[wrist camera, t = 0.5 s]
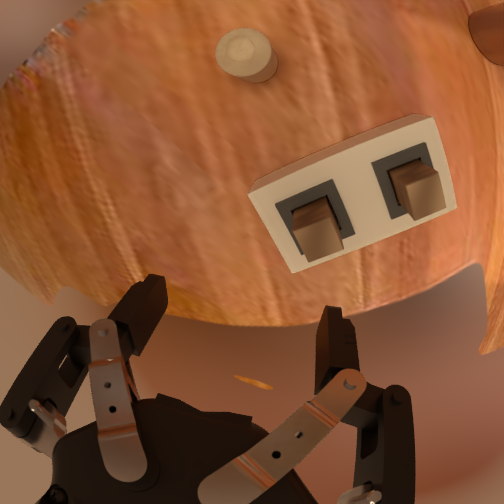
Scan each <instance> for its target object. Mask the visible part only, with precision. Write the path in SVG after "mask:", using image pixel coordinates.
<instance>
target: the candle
mask: <svg viewBox="0 0 504 504" xmlns="http://www.w3.org/2000/svg"><path fill="white" fill-rule="evenodd" d="M215 54H216V60H217V63H218V64H219V66H220V67H221V68H222V69H223V70H224V71H225V72H227V73H229V74H231V75H233V76H236V77H238V78H240V79H243V80H245V81H248V82H252V83H259V82H263V81H266V80H268V79H269V78H271V77H272V76H273V75H274V73H275V72H276V70H277V67H278V60H277V56H276V54H275V52H274V50H273V48H272V46H271V44H270V42H269V40H268V39H267V37H266V36H265V35H264V34H262V33H261V32H259V31H257V30H255V29H251V28H239V29H235V30H232V31H230V32H228V33H227V34H225V35H224V36H223V37H222V38H221V39H220V41H219V42H218V44H217V47H216V53H215Z"/></svg>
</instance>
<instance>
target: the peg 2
mask: <svg viewBox="0 0 504 504" xmlns="http://www.w3.org/2000/svg"><path fill="white" fill-rule="evenodd" d="M386 171H387V174H388V176H389V179H390V182H391V185H392V188H393V191H394V194H395V197H396V199H397V201H398V202H399V203H400V204H401V205H402V206H403V208H404V209H405V210H406V211H407V212H408V214H409V215H410V216H411V217H412V218H413V220H414V221H416V220H419V219H421V218H423V217H426V216H428V215H431V214H433V213H435V212H438V211H440V210H442V209H445V208H446V203H445V198H444V194H443V189H442V185H441V181H440V177H439V173H438V171H436V170H435V169H433V168H431V167H430V166H428V165H426V164H425V163H423V162H421V161H419V160H418V159H414V160H412V161H409V162H406V163H404V164H401V165H399V166H396V167H394V168H391V169H389V170H386Z"/></svg>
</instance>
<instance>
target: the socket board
mask: <svg viewBox="0 0 504 504" xmlns="http://www.w3.org/2000/svg"><path fill="white" fill-rule="evenodd" d="M414 159H418V160H419V161H421V162H423V163H425V164H426V165H428V166H430V167H431V168H433V169H435V170H436V171H438V173H439V177H440V181H441V185H442V189H443V194H444V198H445V203H446V208H445V209H442V210H440V211H438V212H435V213H433V214H431V215H428V216H426V217H423V218H421V219H419V220H416V221H414V220H413V218H412V217H411V216H410V215H409V214H408V212H407V211H406V210H405V209H404V208H403V206H402V205H401V204H400V203H399V202H398V201H397V199H396V197H395V194H394V191H393V188H392V185H391V182H390V179H389V176H388V174H387V171H386V170H389V169H391V168H394V167H396V166H399V165H401V164H404V163H406V162H409V161H412V160H414ZM247 195H248V197H249V198H250V200H251V202H252V204H253V205H254V207H255V209H256V211H257V212H258V214H259V216H260V217H261V219H262V221H263V223H264V224H265V226H266V228H267V230H268V232H269V233H270V235H271V237H272V239H273V240H274V242H275V244H276V246H277V247H278V249H279V251H280V253H281V255H282V256H283V258H284V260H285V262H286V264H287V265H288V267H289V269H290V271H291V273H292V274H293V273H296V272H298V271H301V270H304V269H307V268H309V267H312V266H315V265H317V264H320V263H323V262H325V261H328V260H331V259H333V258H336V257H339V256H341V255H344V254H347V253H349V252H352V251H354V250H357V249H360V248H362V247H365V246H367V245H370V244H372V243H375V242H377V241H380V240H382V239H385V238H387V237H390V236H392V235H395V234H397V233H400V232H402V231H405V230H407V229H410V228H412V227H414V226H417V225H419V224H422V223H424V222H426V221H429V220H431V219H433V218H436V217H438V216H441V215H443V214H445V213H447V212H450V211H452V210H454V209H457V204H456V199H455V194H454V189H453V184H452V179H451V175H450V171H449V167H448V163H447V159H446V155H445V152H444V148H443V145H442V142H441V138H440V135H439V132H438V129H437V126H436V123H435V120H434V117H433V116H427V115H421V114H411V115H408V116H405V117H402V118H400V119H397V120H394V121H392V122H389V123H386V124H384V125H381V126H378V127H376V128H373V129H371V130H368V131H366V132H363V133H360V134H358V135H356V136H353V137H351V138H348V139H346V140H343V141H341V142H339V143H336V144H334V145H331V146H329V147H327V148H324V149H322V150H320V151H318V152H315V153H313V154H311V155H309V156H306V157H304V158H302V159H300V160H297V161H295V162H293V163H291V164H289V165H287V166H284V167H282V168H280V169H278V170H276V171H274V172H272V173H270V174H268V175H265V176H263V177H261V178H259V179H257V180H255V182H254V183H253V185H252V187H251V189H250V190H249V192H248V194H247ZM325 195H327V196H328V198H329V200H330V202H331V205H332V207H333V209H334V212H333V213H334V216H335V218H336V220H337V223H338V226H339V230H340V234H341V238H342V242H343V246H344V250H341V251H339V252H336V253H333V254H331V255H328V256H325V257H323V258H320V259H317V260H315V261H312V262H309V263H308V261H307V259H306V257H305V255H304V253H303V251H302V249H301V247H300V245H299V243H298V241H297V239H296V238H295V236H294V234H293V232H292V226H293V214H294V209H295V208H297V207H300V206H302V205H304V204H307V203H309V202H311V201H314V200H316V199H318V198H321V197H323V196H325Z"/></svg>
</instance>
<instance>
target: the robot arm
mask: <svg viewBox="0 0 504 504" xmlns="http://www.w3.org/2000/svg"><path fill="white" fill-rule="evenodd" d="M469 29H470V33H471V35H472V38H473V40H474V42H475V44H476V46H477V47H478V48H479V50H480V51H481V52H482V54H483V55H484V56H485V57H486V58H487V59H488V60H490V61H491V62H493V63H495V64H497V65H504V3H501V4H497V5H494V6H491V7H488V8H485V9H482V10H479V11H476V12H474V13H472V14H471V15H470V18H469ZM167 305H168V296H167V289H166V281H165V277H164V276H160V275H155V274H149V275H148V276H147V277H146V278H145V280H144V281H143V282H141V281H139V282H137V283H136V284H134V285H133V286H131V288H130V289H129V290H128V291H127V293H126V294H125V295H124V297H123V298H122V300H120V302H119V303H118V304H117V306H116V307H115V308H114V310H113V311H112V312H111V314H110V315H109V316H108V318H107V319H106V318H104V319H99V320H97V321H95V322H94V323H93V324H92V325H91V326H86V325H77V323H76V321H75V320H74V319H73V318H72V317H69V316H66V317H61V318H60V319H58V320H57V321H55V323H54V324H53V325H52V327H51V328H50V329H49V331H48V332H47V334H46V335H45V336H44V338H43V339H42V340H41V342H40V343H39V345H38V346H37V348H36V349H35V351H34V352H33V354H32V355H31V357H30V358H29V359H28V361H27V362H26V364H25V365H24V367H23V369H22V370H21V372H20V373H19V375H18V376H17V378H16V380H15V381H14V383H13V385H12V386H11V388H10V390H9V391H8V393H7V395H6V397H5V398H4V400H3V402H2V404H1V406H0V423H1V425H2V426H3V427H5V428H6V429H7V430H8V431H10V432H11V433H12V434H13V435H14V436H15V437H17V438H18V439H19V440H20V441H22V442H23V443H25V444H26V445H28V446H30V447H31V448H33V449H35V450H36V451H37V452H41V453H44V454H45V455H47V456H48V457H50V458H51V459H52V465H53V474H52V483H51V486H50V488H49V489H48V491H47V492H46V493H45V495H43V496H42V497H41V498H40V499H39V500H38V501H37V502H36V503H35V504H318V502H317V501H316V500H315V499H314V497H313V496H312V494H311V493H310V491H309V490H308V489H307V487H306V486H305V484H304V483H303V482H302V480H301V479H300V477H299V476H298V474H297V473H296V471H295V470H294V467H295V466H296V465H297V464H298V463H300V462H301V461H302V460H303V459H304V458H305V457H306V456H307V455H308V454H309V453H310V452H311V451H312V450H313V449H314V448H315V447H316V446H317V445H318V444H319V443H320V442H321V441H322V440H323V439H324V438H325V437H326V436H327V434H329V432H330V431H331V430H332V429H333V428H334V427H335V426H336V425H337V424H338V423H339V421H341V422H343V423H346V424H349V425H352V426H355V427H357V428H358V429H357V448H356V462H355V472H354V482H353V489H351V490H348V491H346V492H345V493H343V494H342V495H341V496H340V497H339V499H338V501H337V504H414V502H415V439H414V424H413V413H412V404H411V397H410V394H409V392H408V391H407V390H406V389H405V388H404V387H402V386H400V385H391V386H389V387H387V388H386V389H382V388H379V387H377V386H374V385H371V384H369V383H368V382H367V381H366V379H365V377H364V375H363V374H362V373H360V368H359V358H358V350H357V345H356V344H357V341H356V334H355V327H354V326H353V324H352V323H351V321H350V319H343V318H342V309H341V307H334V306H325V308H324V311H323V314H322V317H321V320H320V323H319V326H318V329H317V334H316V362H315V391H314V392H315V393H314V395H316V396H315V397H314V398H313V399H312V400H311V401H307V402H306V403H304V404H303V405H302V406H301V407H300V408H299V409H298V410H297V411H296V412H294V413H293V414H292V415H291V416H290V417H289V418H288V419H286V421H284V422H283V423H282V424H281V425H280V426H278V427H277V428H276V429H275V430H273V431H272V432H271V433H270V434H269V433H268V432H267V431H266V430H265V429H263V428H262V427H260V426H258V425H256V424H254V423H252V422H251V421H252V416H246V415H241V414H236V413H231V412H202V411H200V410H198V409H196V408H194V407H192V406H190V405H188V404H186V403H185V402H183V401H181V400H179V399H176V398H172V397H169V396H166V395H163V394H160V393H158V394H157V397H156V399H154V398H151V399H142V400H141V399H140V396H139V394H138V391H137V388H136V384H135V380H134V376H133V372H132V368H131V364H130V360H129V358H130V356H131V354H133V355H136V356H140V354H141V353H142V351H143V349H144V347H145V345H146V344H147V342H148V340H149V338H150V337H151V335H152V333H153V331H154V330H155V328H156V326H157V325H158V323H159V321H160V319H161V318H162V316H163V314H164V313H165V311H166V309H167ZM66 355H67V357H66V359H65V361H64V362H63V364H62V365H61V367H60V368H59V366H60V364H61V363H62V361H63V359H64V358H65V356H66ZM58 369H59V370H58ZM88 371H89V377H90V385H91V392H92V399H93V405H94V411H95V416H96V421H95V422H92V423H90V424H88V425H86V426H83V427H81V428H79V429H77V430H75V431H72V432H70V433H68V434H66V433H67V429H66V420H65V416H66V414H67V412H68V409H69V408H70V406H71V404H72V402H73V400H74V398H75V396H76V394H77V392H78V390H79V388H80V386H81V384H82V382H83V381H84V379H85V377H86V375H87V373H88Z"/></svg>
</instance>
